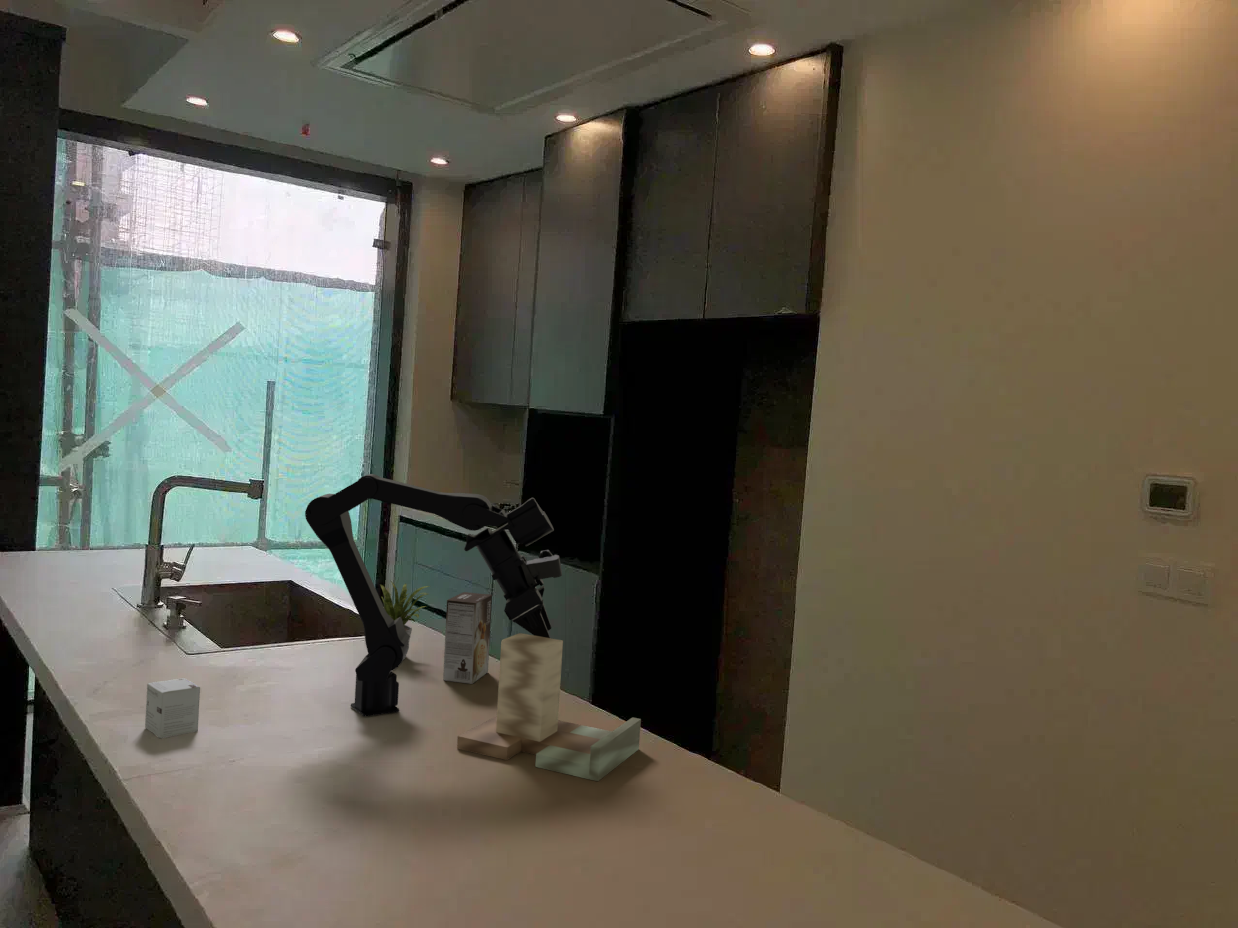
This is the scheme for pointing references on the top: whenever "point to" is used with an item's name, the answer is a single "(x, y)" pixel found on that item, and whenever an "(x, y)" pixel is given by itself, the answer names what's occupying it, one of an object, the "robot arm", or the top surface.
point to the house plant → (401, 605)
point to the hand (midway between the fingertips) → (548, 635)
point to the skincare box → (172, 707)
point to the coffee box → (467, 637)
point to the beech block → (529, 686)
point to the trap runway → (560, 747)
